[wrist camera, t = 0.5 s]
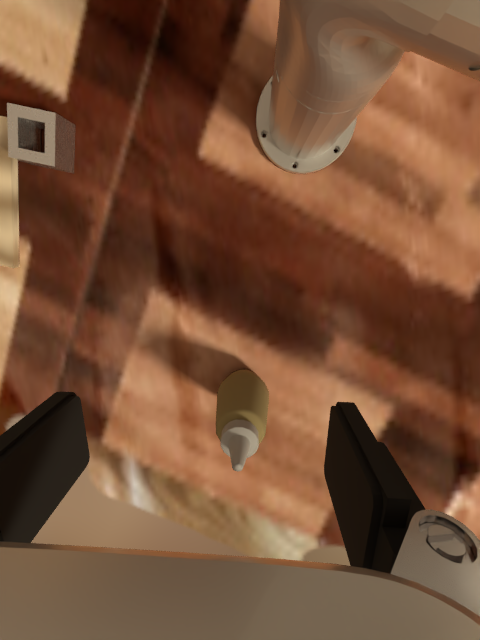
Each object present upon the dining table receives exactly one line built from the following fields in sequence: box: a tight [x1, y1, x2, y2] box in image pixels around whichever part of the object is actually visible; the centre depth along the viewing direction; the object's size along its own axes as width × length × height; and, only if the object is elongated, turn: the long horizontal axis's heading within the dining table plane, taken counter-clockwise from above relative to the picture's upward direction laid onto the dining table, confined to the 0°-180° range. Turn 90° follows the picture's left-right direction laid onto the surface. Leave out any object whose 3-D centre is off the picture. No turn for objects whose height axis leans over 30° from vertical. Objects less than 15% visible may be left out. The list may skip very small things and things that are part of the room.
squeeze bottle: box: [216, 370, 269, 471], centre depth 40 cm, size 8×8×18 cm
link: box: [7, 103, 75, 173], centre depth 38 cm, size 6×6×4 cm
